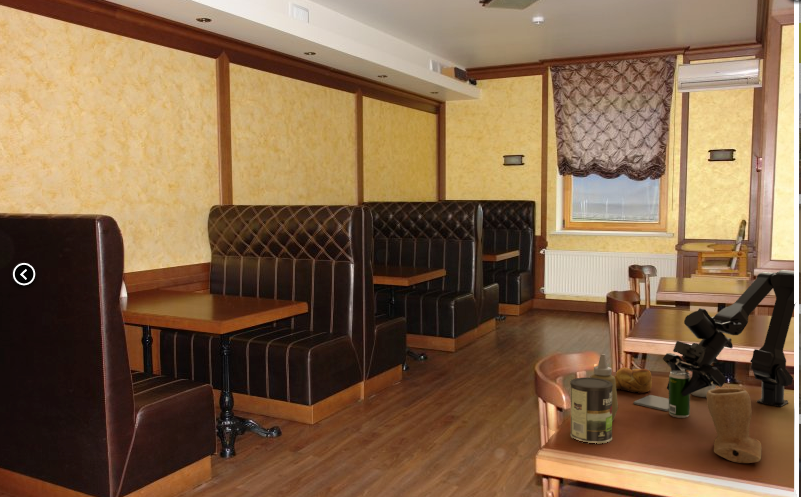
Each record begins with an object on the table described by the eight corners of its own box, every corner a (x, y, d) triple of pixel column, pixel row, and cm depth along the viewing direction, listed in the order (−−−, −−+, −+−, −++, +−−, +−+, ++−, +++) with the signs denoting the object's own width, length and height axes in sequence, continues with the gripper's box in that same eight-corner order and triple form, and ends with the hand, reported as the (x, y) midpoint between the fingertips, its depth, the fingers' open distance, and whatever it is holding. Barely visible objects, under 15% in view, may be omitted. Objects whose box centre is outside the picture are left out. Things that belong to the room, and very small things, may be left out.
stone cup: (708, 438, 164) (709, 379, 163) (762, 446, 158) (764, 385, 157) (701, 459, 151) (702, 395, 150) (760, 469, 145) (761, 402, 144)
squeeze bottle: (585, 422, 177) (585, 356, 176) (588, 413, 185) (589, 350, 184) (616, 425, 174) (617, 359, 173) (619, 416, 182) (619, 352, 181)
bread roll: (606, 390, 208) (606, 365, 207) (615, 383, 216) (615, 359, 215) (649, 396, 201) (649, 370, 200) (656, 388, 209) (656, 363, 208)
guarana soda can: (682, 419, 179) (682, 376, 178) (664, 414, 183) (664, 372, 182) (693, 415, 181) (694, 373, 181) (676, 411, 186) (676, 369, 185)
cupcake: (681, 389, 207) (682, 358, 206) (713, 391, 205) (714, 359, 204) (688, 398, 198) (689, 365, 197) (722, 399, 196) (722, 366, 195)
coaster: (649, 396, 200) (649, 394, 200) (682, 403, 193) (682, 401, 193) (633, 403, 193) (633, 401, 193) (666, 411, 186) (666, 409, 186)
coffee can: (616, 434, 168) (617, 380, 167) (606, 447, 159) (606, 390, 159) (577, 427, 174) (577, 375, 173) (564, 439, 165) (564, 384, 164)
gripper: (668, 325, 191) (636, 366, 188) (717, 337, 173) (682, 382, 170) (690, 349, 194) (658, 390, 191) (740, 364, 176) (706, 409, 173)
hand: (675, 392), depth 181 cm, fingers closed on guarana soda can, 5 cm apart
